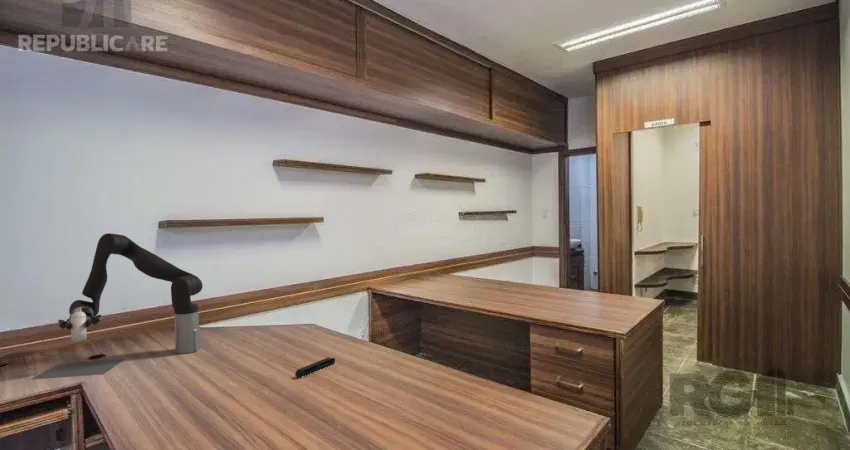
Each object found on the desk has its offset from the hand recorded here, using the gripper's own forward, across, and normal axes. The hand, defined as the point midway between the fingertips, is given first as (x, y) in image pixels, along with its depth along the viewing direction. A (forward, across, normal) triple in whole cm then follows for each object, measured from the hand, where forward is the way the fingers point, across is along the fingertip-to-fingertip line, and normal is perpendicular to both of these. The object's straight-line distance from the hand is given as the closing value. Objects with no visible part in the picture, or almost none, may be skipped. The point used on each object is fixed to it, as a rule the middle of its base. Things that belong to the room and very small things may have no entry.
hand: (78, 325), depth 159 cm
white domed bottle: (-3, 0, +6) cm, 7 cm away
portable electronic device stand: (+54, +74, +18) cm, 94 cm away
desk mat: (-2, 0, +18) cm, 18 cm away
